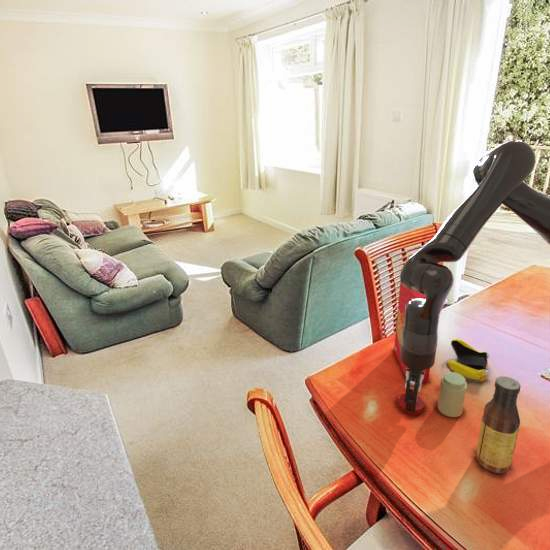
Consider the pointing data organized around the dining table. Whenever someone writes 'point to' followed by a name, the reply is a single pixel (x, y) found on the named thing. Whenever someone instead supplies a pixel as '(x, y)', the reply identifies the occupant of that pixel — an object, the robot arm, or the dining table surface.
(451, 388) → the jar
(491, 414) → the sauce bottle
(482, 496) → the dining table surface
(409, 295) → the food packaging
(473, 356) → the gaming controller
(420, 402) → the lid
